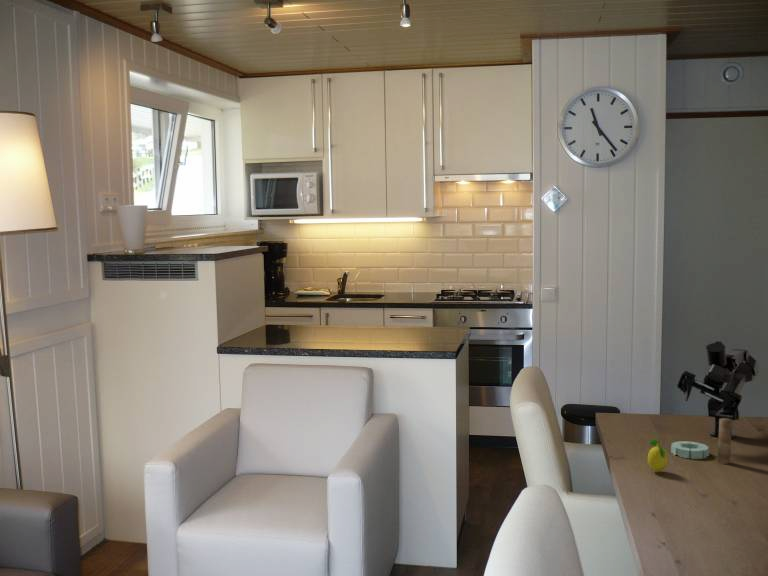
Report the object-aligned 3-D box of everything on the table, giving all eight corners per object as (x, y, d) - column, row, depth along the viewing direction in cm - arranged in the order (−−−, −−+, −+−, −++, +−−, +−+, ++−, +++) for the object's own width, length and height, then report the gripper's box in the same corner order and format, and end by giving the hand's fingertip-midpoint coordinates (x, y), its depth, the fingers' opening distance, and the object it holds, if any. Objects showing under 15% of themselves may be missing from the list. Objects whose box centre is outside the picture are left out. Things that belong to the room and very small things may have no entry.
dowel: (720, 460, 249) (721, 417, 248) (731, 462, 246) (733, 419, 245) (715, 462, 246) (717, 419, 245) (727, 465, 244) (729, 421, 243)
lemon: (649, 467, 242) (650, 433, 241) (669, 470, 239) (671, 436, 238) (643, 473, 236) (644, 439, 235) (664, 476, 233) (665, 442, 232)
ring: (679, 447, 262) (680, 439, 262) (713, 453, 256) (713, 445, 255) (666, 454, 255) (666, 446, 254) (700, 461, 248) (700, 452, 248)
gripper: (694, 347, 265) (679, 374, 254) (753, 373, 257) (740, 401, 247) (684, 373, 272) (669, 400, 261) (741, 398, 264) (728, 427, 254)
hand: (701, 406), depth 255 cm, fingers open, 9 cm apart
